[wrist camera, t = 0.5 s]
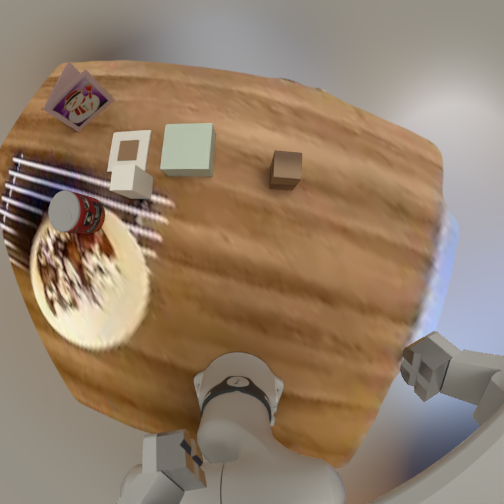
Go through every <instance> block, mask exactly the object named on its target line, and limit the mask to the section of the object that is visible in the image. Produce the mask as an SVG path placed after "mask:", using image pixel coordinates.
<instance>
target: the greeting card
mask: <svg viewBox="0 0 504 504" xmlns="http://www.w3.org/2000/svg"><path fill="white" fill-rule="evenodd" d="M113 101H114V99H113V98H112V97H111V96H110V95H109V94H108V92H107V91H106V90H105V89H104V88H103V87H102V86H101V85H100V84H99V83H98V82H97V81H96V80H95V79H94V78H93V77H92V75H91V74H90V73H89V72H88V71H87V70H86V69H85V70H84V71H83V72H82V73H81V74H80V73H79V72H78V70H77V69H76V68H75V67H74V66H73V65H72V64H71V63H70V62H68V63H67V65H66V67H65V68H64V70H63V72H62V74H61V76H60V77H59V79H58V81H57V83H56V85H55V87H54V89H53V90H52V92H51V94H50V96H49V98H48V100H47V103H46V105H45V107H44V110H45V111H47V112H48V113H50V114H51V115H53V116H55V117H56V118H58V119H59V120H61V121H62V122H64V123H65V124H67V125H68V126H70V127H71V128H73V129H75V130H76V131H78V132H79V131H80V130H81V129H82V128H83V127H85V126H86V125H87V124H88V123H89V122H90V121H91V120H92V119H93V118H94V117H95V116H97V115H98V114H99V113H100V112H101V111H102V110H103V109H105V108H106V107H107V106H108V105H109V104H110V103H112V102H113Z"/></svg>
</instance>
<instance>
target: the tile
mask: <svg viewBox="0 0 504 504" xmlns="http://www.w3.org/2000/svg"><path fill="white" fill-rule="evenodd" d="M151 134H152V131H151V130H142V131H128V132H116V133H114V135H113V140H112V146H111V151H110V157H109V164H108V171H107V172H112V169H113V165H137V166H138V167H140V168H141V169H142V170H144V171H146V169H147V161H148V154H149V147H150V141H151Z"/></svg>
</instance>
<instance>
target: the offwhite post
mask: <svg viewBox="0 0 504 504" xmlns="http://www.w3.org/2000/svg"><path fill="white" fill-rule="evenodd" d="M152 185H153V177H152V176H151V175H149V174H148V173H147V172H145V171H144V170H142V169H141V168H140V167H138V166H137V165H113V169H112V176H111V184H110V191H113V192H115V193H118V194H121V195H123V196H126V197H128V198H131V199H151V194H152Z"/></svg>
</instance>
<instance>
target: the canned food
mask: <svg viewBox="0 0 504 504" xmlns="http://www.w3.org/2000/svg"><path fill="white" fill-rule="evenodd" d="M104 217H105V213H104V209H103V206H102V205H101V203H100V202H99V201H98V200H96V199H94V198H91V197H88V196H84V195H81V194H78V193H75V192H71V191H61V192H59V193H57V194H56V195H55V196H54V197H53V199H52V201H51V203H50V206H49V220H50V222H51V224H52V226H53V227H54V228H55V229H56V230H58V231H60V232H68V233H86V234H90V233H94V232H96V231H97V230H98V229H100V227H101V226H102V224H103V222H104Z"/></svg>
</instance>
